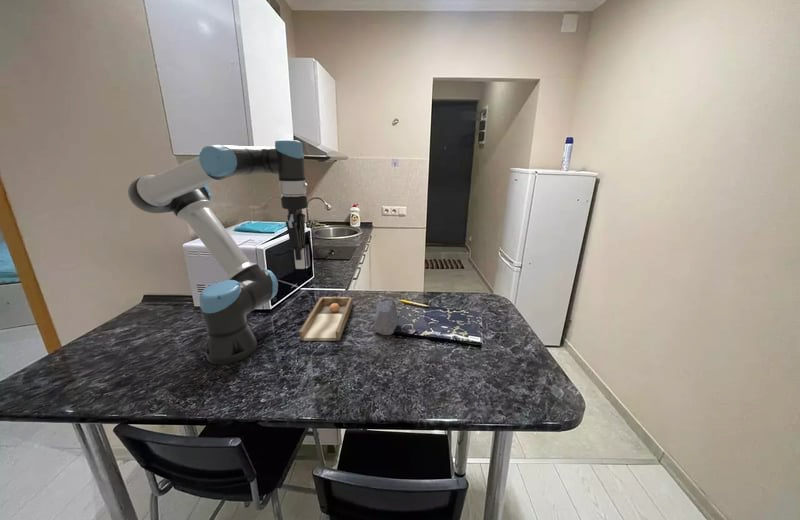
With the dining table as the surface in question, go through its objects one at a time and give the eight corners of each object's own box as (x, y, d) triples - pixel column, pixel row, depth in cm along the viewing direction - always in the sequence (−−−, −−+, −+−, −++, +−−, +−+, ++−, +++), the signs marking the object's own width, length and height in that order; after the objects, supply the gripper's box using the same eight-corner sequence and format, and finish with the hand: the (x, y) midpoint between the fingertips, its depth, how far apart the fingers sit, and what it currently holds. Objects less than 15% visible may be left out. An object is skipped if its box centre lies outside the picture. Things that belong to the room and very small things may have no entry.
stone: (379, 324, 121) (403, 319, 119) (375, 342, 113) (400, 337, 110) (368, 301, 116) (392, 295, 114) (363, 318, 107) (389, 312, 105)
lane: (300, 340, 108) (299, 331, 107) (321, 304, 134) (320, 297, 133) (339, 340, 108) (338, 331, 107) (352, 304, 134) (352, 297, 133)
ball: (328, 305, 124) (331, 301, 128) (328, 314, 125) (331, 309, 129) (338, 306, 124) (340, 301, 127) (338, 314, 125) (340, 310, 129)
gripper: (300, 198, 86) (307, 275, 94) (311, 192, 98) (316, 261, 106) (273, 197, 85) (282, 275, 93) (287, 192, 98) (294, 261, 105)
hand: (300, 267), depth 99 cm, fingers closed
